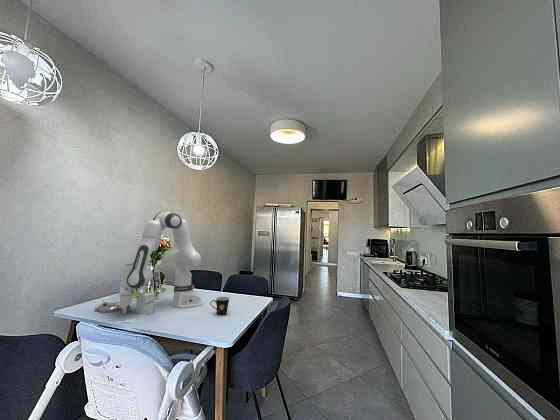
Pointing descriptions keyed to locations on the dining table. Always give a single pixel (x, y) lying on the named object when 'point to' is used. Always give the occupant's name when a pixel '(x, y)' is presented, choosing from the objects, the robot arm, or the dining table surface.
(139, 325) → the dining table surface
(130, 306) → the link block
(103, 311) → the sprocket
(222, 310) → the coffee mug
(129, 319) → the dining table surface
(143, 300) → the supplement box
